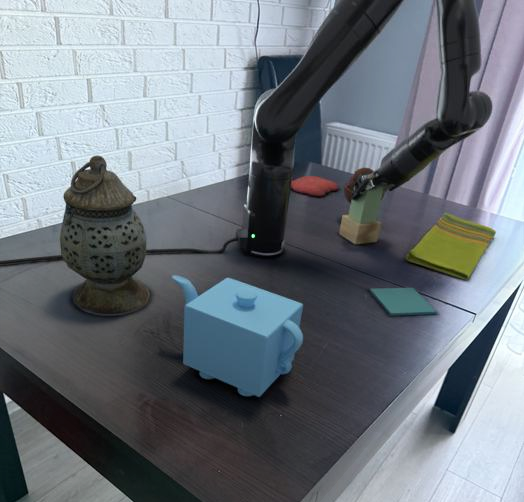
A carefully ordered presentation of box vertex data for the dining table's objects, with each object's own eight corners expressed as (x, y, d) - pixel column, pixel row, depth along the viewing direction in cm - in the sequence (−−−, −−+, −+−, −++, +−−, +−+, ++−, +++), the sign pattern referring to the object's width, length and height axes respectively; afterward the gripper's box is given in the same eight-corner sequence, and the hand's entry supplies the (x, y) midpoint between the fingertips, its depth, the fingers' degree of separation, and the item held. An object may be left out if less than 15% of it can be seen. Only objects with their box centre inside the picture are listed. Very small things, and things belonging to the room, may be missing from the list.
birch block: (355, 244, 126) (359, 225, 123) (338, 233, 131) (342, 215, 128) (377, 241, 129) (381, 222, 126) (360, 231, 134) (364, 213, 131)
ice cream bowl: (380, 232, 134) (394, 175, 126) (339, 228, 134) (350, 170, 126) (374, 218, 143) (387, 164, 135) (335, 214, 143) (345, 159, 134)
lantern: (150, 316, 88) (146, 171, 74) (63, 318, 85) (42, 166, 71) (148, 279, 100) (145, 146, 85) (72, 279, 96) (55, 141, 82)
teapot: (307, 374, 79) (323, 297, 71) (275, 414, 71) (288, 331, 63) (192, 328, 87) (194, 253, 79) (150, 358, 78) (148, 278, 71)
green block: (360, 223, 124) (368, 186, 119) (348, 216, 128) (355, 180, 123) (376, 221, 126) (384, 185, 121) (363, 214, 130) (371, 179, 125)
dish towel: (494, 237, 141) (498, 226, 139) (468, 282, 114) (473, 269, 113) (439, 222, 146) (443, 211, 145) (403, 261, 120) (406, 249, 118)
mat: (390, 316, 98) (391, 313, 97) (369, 291, 106) (370, 288, 105) (435, 314, 100) (436, 311, 100) (412, 290, 108) (413, 287, 108)
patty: (317, 199, 152) (318, 192, 151) (279, 187, 158) (280, 181, 157) (344, 188, 165) (345, 182, 164) (308, 177, 171) (309, 171, 169)
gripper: (426, 143, 114) (379, 180, 129) (376, 144, 107) (333, 183, 123) (435, 174, 113) (388, 208, 128) (386, 177, 107) (342, 212, 122)
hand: (361, 196), depth 125 cm, fingers closed on green block, 5 cm apart
